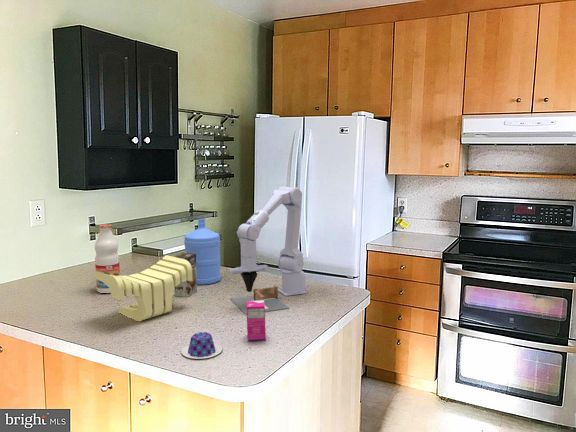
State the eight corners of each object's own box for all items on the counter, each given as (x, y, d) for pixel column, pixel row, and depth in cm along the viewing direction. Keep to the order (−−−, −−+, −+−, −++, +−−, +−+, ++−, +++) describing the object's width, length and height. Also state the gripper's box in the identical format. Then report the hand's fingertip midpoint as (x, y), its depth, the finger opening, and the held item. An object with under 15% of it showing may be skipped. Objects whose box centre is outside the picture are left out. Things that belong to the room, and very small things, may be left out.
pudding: (172, 353, 140) (172, 336, 140) (203, 340, 150) (203, 324, 149) (200, 365, 133) (199, 347, 132) (230, 350, 142) (230, 334, 141)
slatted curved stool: (121, 330, 157) (118, 278, 154) (96, 319, 167) (93, 270, 164) (193, 307, 180) (192, 261, 177) (167, 298, 190) (166, 255, 187)
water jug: (227, 279, 218) (226, 218, 214) (204, 287, 205) (202, 223, 201) (202, 274, 226) (200, 215, 222) (178, 282, 213) (176, 220, 209)
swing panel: (255, 300, 185) (255, 290, 185) (258, 300, 186) (258, 290, 185) (261, 307, 177) (260, 297, 176) (264, 307, 177) (264, 296, 177)
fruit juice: (120, 286, 206) (116, 222, 202) (121, 292, 197) (118, 226, 193) (96, 289, 202) (92, 224, 198) (97, 295, 194) (93, 227, 190)
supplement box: (246, 334, 154) (246, 300, 152) (265, 334, 154) (265, 299, 152) (246, 341, 148) (246, 306, 146) (265, 341, 148) (265, 305, 147)
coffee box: (188, 297, 192) (187, 258, 189) (174, 296, 193) (172, 257, 191) (197, 290, 200) (196, 253, 198) (183, 289, 202) (182, 252, 199)
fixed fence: (276, 297, 191) (276, 286, 190) (278, 299, 189) (278, 287, 189) (252, 300, 187) (252, 289, 186) (254, 302, 185) (254, 290, 185)
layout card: (270, 294, 195) (270, 293, 195) (289, 308, 178) (289, 307, 178) (230, 299, 189) (230, 298, 189) (245, 314, 171) (245, 313, 171)
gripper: (263, 251, 184) (263, 285, 186) (226, 255, 178) (227, 290, 180) (269, 255, 178) (270, 290, 180) (232, 259, 172) (233, 295, 174)
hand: (249, 291), depth 180 cm, fingers closed
